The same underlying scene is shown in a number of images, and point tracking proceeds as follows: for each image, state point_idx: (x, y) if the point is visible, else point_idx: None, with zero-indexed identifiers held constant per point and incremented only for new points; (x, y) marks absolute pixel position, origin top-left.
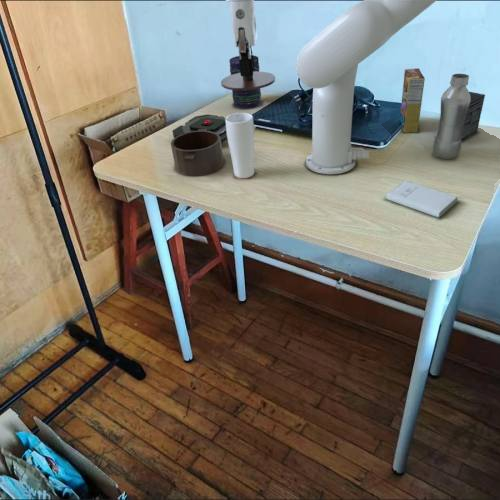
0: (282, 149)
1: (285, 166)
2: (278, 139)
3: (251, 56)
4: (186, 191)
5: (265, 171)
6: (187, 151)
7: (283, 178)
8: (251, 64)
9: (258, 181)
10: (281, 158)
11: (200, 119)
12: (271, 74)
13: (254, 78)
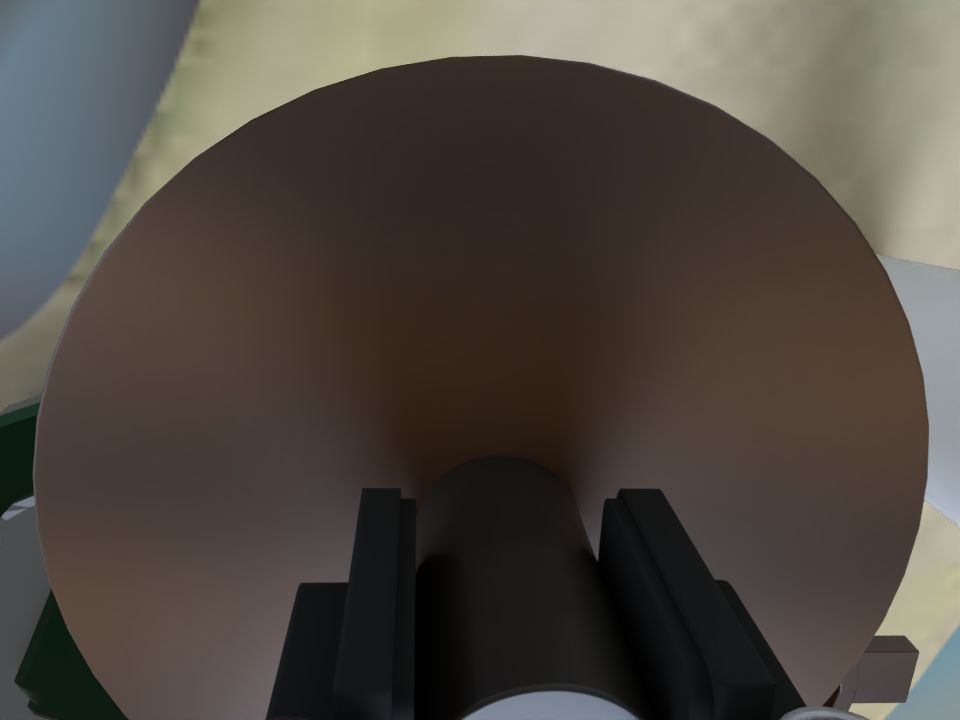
0: (474, 44)
1: (762, 23)
2: (278, 78)
3: (412, 713)
4: (936, 591)
5: (806, 169)
6: (848, 706)
7: (931, 41)
8: (727, 616)
9: (928, 211)
10: (630, 53)
11: (73, 717)
12: (286, 136)
13: (470, 434)
